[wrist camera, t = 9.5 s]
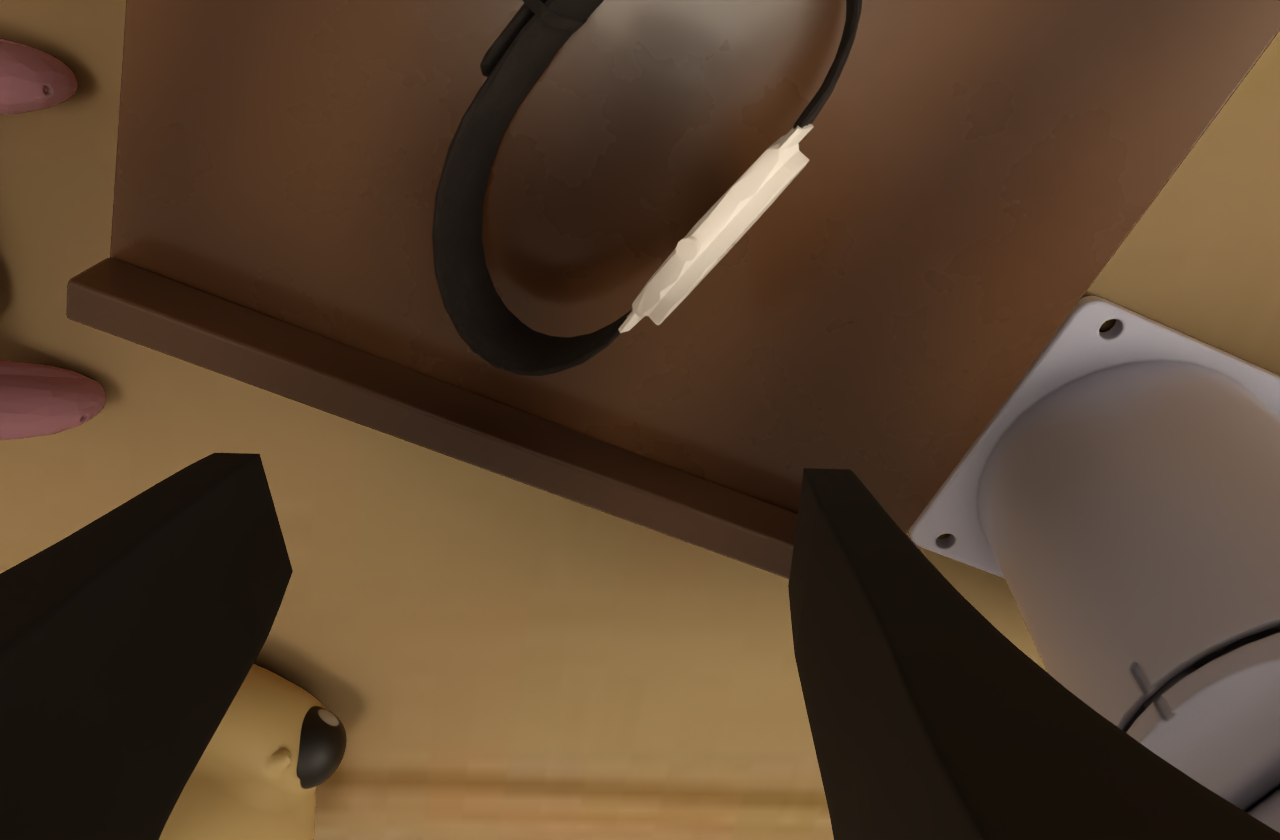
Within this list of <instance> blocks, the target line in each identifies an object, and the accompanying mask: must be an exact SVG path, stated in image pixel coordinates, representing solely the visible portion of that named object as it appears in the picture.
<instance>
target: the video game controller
mask: <svg viewBox="0 0 1280 840" xmlns="http://www.w3.org/2000/svg"><path fill="white" fill-rule="evenodd" d="M77 84H78V83H77V81H76V78H75V75H74V73H73V72H72V71H71V70H70V69H69V68H68V67H67V65H65V64H64V63H63V62H61V61H60V60H58V59H57V58H56V57H54V56H52V55H50V54H48V53H46V52H43V51H41V50H38V49H35V48H32V47H29V46H26V45H23V44H21V43H17V42H13V41H9V40H5V39H1V38H0V114H19V113H24V112H29V111H34V110H39V109H44V108H49V107H51V106H54V105H56V104H59V103H61V102H63V101H66V100H67V99H69V98H70V97H71V96H72V95H73V94H74V93H75V92H76V89H77ZM105 403H106V395H105V392H104V390H103V389H102V387H101V385H100V384H99V383H98V382H97V381H95V380H92V379H90V378H88V377H85V376H83V375H81V374H79V373H76V372H74V371H71V370H67V369H62V368H58V367H53V366H48V365H43V364H34V363H26V362H18V361H7V360H0V440H6V439H20V438H29V437H36V436H43V435H51V434H56V433H59V432H61V431H64V430H67V429H70V428H73V427H76V426H79V425H81V424H83V423H84V422H86V421H88V420H90V419H92V418H93V417H94V416H95V415H97V414H98V413H99V412H100V411H101V410H102V409H103V408H104V406H105Z"/></svg>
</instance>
